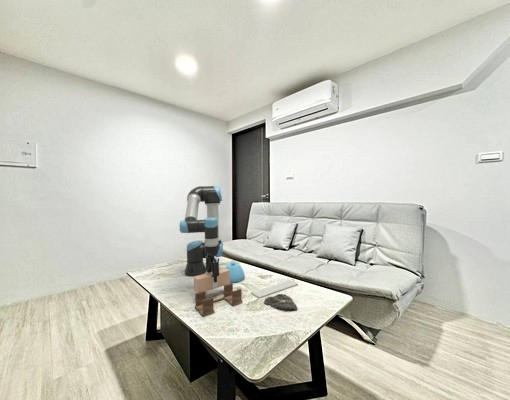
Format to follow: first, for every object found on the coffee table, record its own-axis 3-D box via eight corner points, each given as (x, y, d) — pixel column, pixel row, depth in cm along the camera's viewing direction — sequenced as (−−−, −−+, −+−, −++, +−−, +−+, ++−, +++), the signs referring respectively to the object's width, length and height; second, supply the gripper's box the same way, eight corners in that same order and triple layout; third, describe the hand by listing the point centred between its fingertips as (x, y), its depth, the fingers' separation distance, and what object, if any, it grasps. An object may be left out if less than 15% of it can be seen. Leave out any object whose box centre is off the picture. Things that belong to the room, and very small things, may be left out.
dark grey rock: (275, 293, 125) (259, 304, 113) (275, 287, 125) (259, 296, 113) (306, 303, 113) (291, 316, 101) (306, 296, 113) (291, 308, 101)
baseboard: (249, 293, 126) (259, 299, 118) (248, 288, 126) (258, 294, 118) (287, 281, 144) (298, 286, 135) (287, 276, 144) (298, 281, 135)
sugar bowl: (218, 278, 149) (217, 262, 149) (236, 273, 158) (236, 258, 158) (229, 285, 137) (229, 267, 137) (248, 279, 147) (248, 262, 146)
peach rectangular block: (194, 291, 119) (193, 276, 119) (225, 281, 132) (225, 268, 131) (198, 294, 115) (197, 279, 115) (230, 283, 128) (229, 270, 127)
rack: (194, 308, 110) (194, 293, 110) (232, 295, 122) (232, 283, 122) (202, 317, 101) (202, 301, 101) (242, 302, 114) (242, 289, 114)
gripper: (199, 243, 128) (200, 282, 128) (212, 249, 113) (213, 293, 114) (211, 241, 132) (212, 279, 133) (225, 247, 117) (226, 289, 118)
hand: (212, 285), depth 123 cm, fingers closed on peach rectangular block, 5 cm apart
